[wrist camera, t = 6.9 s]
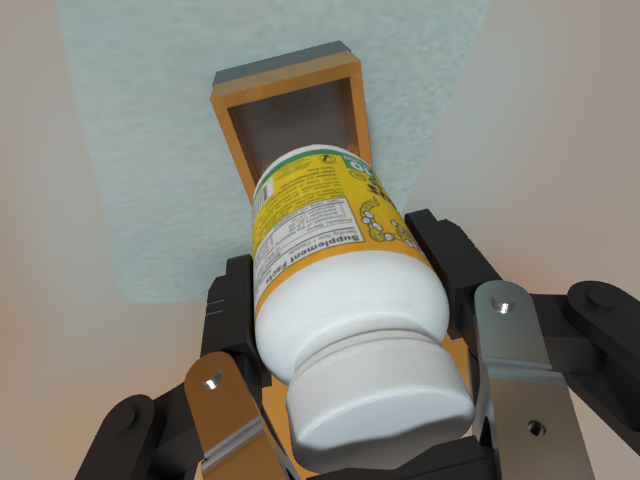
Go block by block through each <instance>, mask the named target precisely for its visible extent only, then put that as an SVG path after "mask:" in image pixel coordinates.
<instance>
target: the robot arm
mask: <svg viewBox="0 0 640 480" xmlns="http://www.w3.org/2000/svg"><path fill="white" fill-rule="evenodd" d="M405 224H406V225H407V227H408V229H409V230H410V232H411V234H412V235H413V237H414V239H415V240H416V242H417V243H418V245H419V247H420V248H421V250H422V251H423V253H424V255H425V256H426V258H427V259H428V261H429V263H430V264H431V266H432V268H433V270H434V271H435V273H436V274H437V276H438V278H439V279H440V281H441V283H442V285H443V287H444V290H445V292H446V295H447V298H448V303H449V313H450V314H449V323H448V328H447V333H448V334H449V336H450V338H451V340H454V339H457V338H461V337H463V339H464V341H465V342H466V344H467V346H468V347H467V360H468V372H469V383H470V395H471V398H472V400H473V403H474V405H475V410H476V415H475V419H474V422H473V423H472V436H468V437H464V438H461V439H457V440H453V441H449V442H445V443H441V444H437V445H433V446H432V447H430V448H429V449H427V450H425V451H424V452H422V453H421V454H419V455H417V456H416V457H414V458H413V459H411V460H409V461H408V462H406V463H405V464H403V465H401V466H400V467H398V468H396V469H392V470H387V469H367V468H344V469H340V470H336V471H332V472H329V473H325V474H321V475H317V476H313V477H309V478H306V480H595V477H594V473H593V470H592V467H591V463H590V460H589V457H588V453H587V450H586V447H585V443H584V440H583V437H582V433H581V430H580V427H579V423H578V420H577V417H576V414H575V410H574V406H573V403H572V400H571V396H570V393H569V390H568V387H570V389H571V390H573V392H574V393H576V394H577V395H578V396H579V397H580V398H581V399H582V400H583V401H584V402H585V403H586V404H587V405H588V406H589V407H590V408H591V409H592V410H593V411H594V412H595V413H596V414H597V415H598V416H599V417H600V418H601V419H602V420H603V421H604V422H605V423H606V424H607V425H608V426H609V427H610V428H611V429H612V430H613V431H614V432H615V433H616V434H617V435H618V436H619V437H620V438H621V439H622V440H624V441H625V442H626V443H627V444H628V445H629V446H630V447H631V448H632V449H633V450H634V451H635V452H636V453H637V454H638V455H639V456H640V301H638V300H637V299H635V298H634V297H632V296H631V295H629V294H628V293H626V292H625V291H623V290H621V289H620V288H618V287H615V286H613V285H611V284H608V283H604V282H600V281H582V282H578V283H576V284H574V285H572V286H571V287H570V289H569V291H568V293H567V295H546V294H545V295H544V294H530V293H528V292H527V291H526V290H525V289H523V288H522V287H520V286H519V285H517V284H514V283H512V282H508V281H504V280H503V279H502V278H501V277H500V276H499V275H498V273H497V272H496V271H495V270H494V269H493V267H492V266H491V265H490V264H489V262H488V261H487V260H486V259H485V257H484V256H483V255H482V254H481V252H480V251H479V250H478V249H477V248H475V246H474V244H473V243H472V241H471V240H470V239H468V236H467V235H466V234H465V233H464V231H463V230H462V229H461V228H460V226H457V225H456V224H454V223H452V222H451V221H448V220H447V219H444V220H441V221H437V220H436V219H435V217H434V216H433V215H432V213H431V212H430V211H429V210H428V209H423V210H419V211H415V212H412V213H407V214H405ZM268 386H272V380H271V373H270V372H269V370H268V369H267V368H266V366H265V365H264V363H263V361H262V359H261V357H260V355H259V352H258V349H257V344H256V337H255V323H254V279H253V259H252V257H251V255H250V254H246V255H242V256H238V257H234V258H230V259H228V260H227V266H226V275H224V276H220V277H216V279H215V280H214V282H213V284H212V285H211V287H210V289H209V291H208V299H207V308H206V316H205V323H204V331H203V339H202V347H201V355H200V359H198V360H197V361H196V362H195V363H194V364H193V365H192V366H191V368H190V369H189V371H188V373H187V374H186V377H185V381H184V382H183V383H181V384H180V385H178V386H177V387H176V388H174V389H172V390H170V391H168V392H167V393H165V394H163V395H161V396H160V397H158V398H156V399H154V400H152V399H151V398H150V397H148V396H146V395H142V394H138V395H133V396H130V397H128V398H126V399H124V400H123V401H121V402H119V403H118V404H117V405H116V406H115V407H114V408H113V409H112V410H111V411H110V412H109V413H108V415H107V416H106V417H105V419H104V420H103V422H102V424H101V426H100V428H99V430H98V432H97V435H96V436H95V438H94V440H93V442H92V445H91V447H90V449H89V451H88V453H87V455H86V457H85V459H84V461H83V463H82V465H81V467H80V469H79V471H78V473H77V475H76V477H75V479H74V480H194V477H195V473H196V470H197V466H198V462H200V461H201V460H203V459H204V461H202V463H201V472H202V477H203V480H301V478H300V476H299V475H298V473H297V471H296V469H295V468H294V466H293V464H292V462H291V460H290V458H289V456H288V454H287V452H286V450H285V448H284V446H283V444H282V442H281V440H280V438H279V436H278V434H277V432H276V430H275V428H274V426H273V424H272V422H271V420H270V418H269V416H268V414H267V412H266V410H265V408H264V406H263V404H262V388H264V387H268ZM567 386H568V387H567Z"/></svg>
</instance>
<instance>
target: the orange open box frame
mask: <svg viewBox="0 0 640 480" xmlns="http://www.w3.org/2000/svg"><path fill="white" fill-rule="evenodd" d="M212 86H213V90H212V93H211V97H210V100H211V103H212V106H213V108H214V111H215V113H216V116H217V118H218V121H219V123H220V126H221V129H222V131H223V134H224V136H225V139H226V141H227V144H228V147H229V149H230V152H231V154H232V157H233V159H234V162H235V164H236V167H237V170H238V172H239V175H240V177H241V180H242V182H243V185H244V188H245V190H246V193H247V195H248V198H249V200H250V203H251V205H252V204H253V196H254V192H255V189H256V186H257V184H258V182H259V180H260V178H261V177H262V175H263V174H264V172H265V171H266V170H267V169H268V168H269V166H270V165H271V164H272V163H273V162H275V161H276V160H277V159H278V158H280V157H281V156H283V155H285V154H287V153H289V152H291V151H293V150H295V149H298V148H301V147H305V146H310V145H318V144H320V145H331V146H336V147H339V148H342V149H344V150H347V151H349V152H351V153H353V154H354V155H356V156H358V157H359V158H361V159H362V160H363V161H365V162H366V163H367V164H368V165H369V166H370V167H371V169H372V163H371V154H370V144H369V135H368V126H367V117H366V108H365V99H364V90H363V81H362V72H361V63H360V60H359V59H358V58H357V57H356V56H355V55H353V54H352V53H351V50H350V49H349V48H348V47H346V46H345V45H344V44H343V43H342V42H341V41H335V42H331V43H328V44H324V45H320V46H316V47H312V48H308V49H304V50H300V51H296V52H292V53H288V54H285V55H281V56H277V57H273V58H269V59H265V60H261V61H257V62H253V63H249V64H246V65H242V66H238V67H234V68H230V69H226V70H222V71H218V72H216V75H215V78H214V82H213V85H212Z"/></svg>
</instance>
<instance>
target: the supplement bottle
mask: <svg viewBox="0 0 640 480" xmlns="http://www.w3.org/2000/svg"><path fill="white" fill-rule="evenodd" d="M252 236H253V279H254V323H255V337H256V344H257V349H258V352H259V355H260V357H261V359H262V361H263V363H264V365H265V366H266V368H267V369H268V370H269V372H270V373H271V374H272V375H273V376H274V377H275V378H276V379H278V380H279V381H280V382H282V383H283V384H284V385H286V386H288V387H289V388H288V394H287V398H286V410H287V413H288V419H289V428H290V438H291V447H292V452H293V456H294V458H295V460H296V461H297V463H298V464H299V465H300V466H302V467H303V468H305V469H307V470H309V471H311V472H314V473H318V474H325V473H329V472H332V471H336V470H340V469H344V468H367V469H387V470H392V469H396V468H398V467H400V466H401V465H403V464H405V463H406V462H408V461H409V460H411V459H413V458H414V457H416V456H417V455H419V454H421V453H422V452H424V451H425V450H427V449H429V448H430V447H432V446H433V445H437V444H441V443H445V442H449V441H453V440H457V439H460V438H461V437H462V436H463V435H464V434H465V433H466V432H467V431H468V430H469V428H470V427H471V425H472V423H473V422H474V419H475V415H476V410H475V405H474V403H473V400H472V398H471V395H470V393H469V391H468V389H467V387H466V385H465V383H464V381H463V379H462V377H461V375H460V373H459V370H458V368H457V365H456V363H455V361H454V359H453V358H452V356H451V355H450V354H449V353H448V352H447V351H446V350H445V349H443V348H442V346H441V343H442V341H443V339H444V337H445V335H446V332H447V328H448V323H449V314H450V313H449V303H448V298H447V295H446V292H445V290H444V287H443V285H442V283H441V281H440V279H439V278H438V276H437V274H436V273H435V271H434V270H433V268H432V266H431V264H430V263H429V261H428V259H427V258H426V256H425V255H424V253H423V251H422V250H421V248H420V247H419V245H418V243H417V242H416V240H415V239H414V237H413V235H412V234H411V232H410V230H409V229H408V227H407V225H406V224H405V222H404V220H403V219H402V217H401V215H400V214H399V212H398V211H397V209H396V207H395V205H394V204H393V202H392V200H391V199H390V197H389V196H388V194H387V192H386V191H385V189H384V187H383V186H382V184H381V182H380V180H379V179H378V178H377V176H376V174H375V173H374V172H373V170H372V169H371V167H370V166H369V165H368V164H367V163H366V162H365V161H363V160H362V159H361V158H359V157H358V156H356V155H354V154H353V153H351V152H349V151H347V150H344V149H342V148H339V147H336V146H331V145H320V144H318V145H310V146H305V147H301V148H298V149H295V150H293V151H291V152H289V153H287V154H285V155H283V156H281V157H280V158H278V159H277V160H276V161H275V162H273V163H272V164H271V165H270V166H269V168H268V169H267V170H266V171H265V172H264V174H263V175H262V177H261V178H260V180H259V182H258V184H257V186H256V189H255V192H254V196H253V204H252Z"/></svg>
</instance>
